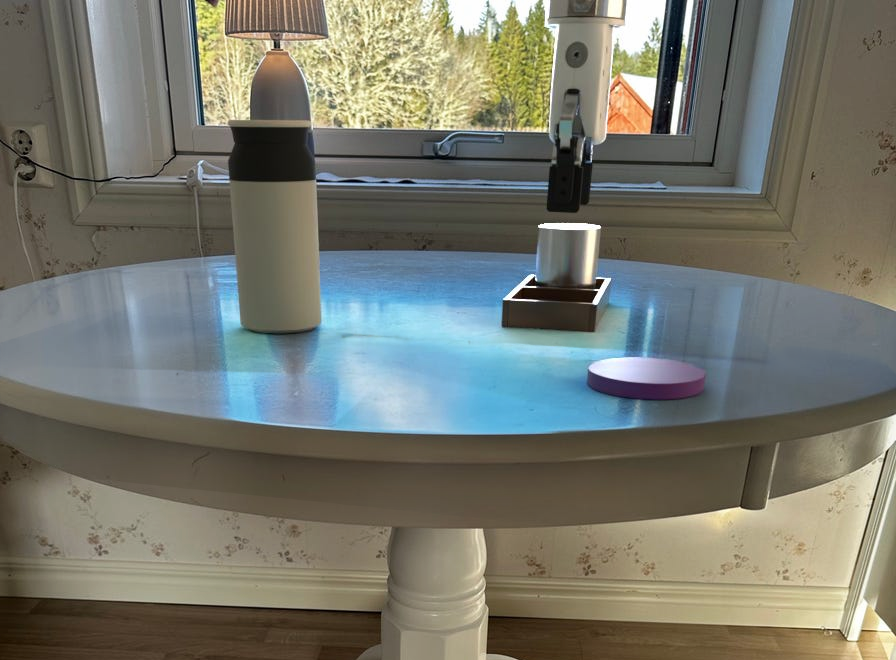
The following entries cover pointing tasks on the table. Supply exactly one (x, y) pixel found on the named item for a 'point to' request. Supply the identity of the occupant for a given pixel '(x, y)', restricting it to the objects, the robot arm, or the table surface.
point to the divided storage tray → (555, 306)
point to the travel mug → (275, 225)
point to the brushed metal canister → (567, 255)
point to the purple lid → (646, 378)
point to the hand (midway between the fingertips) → (568, 207)
